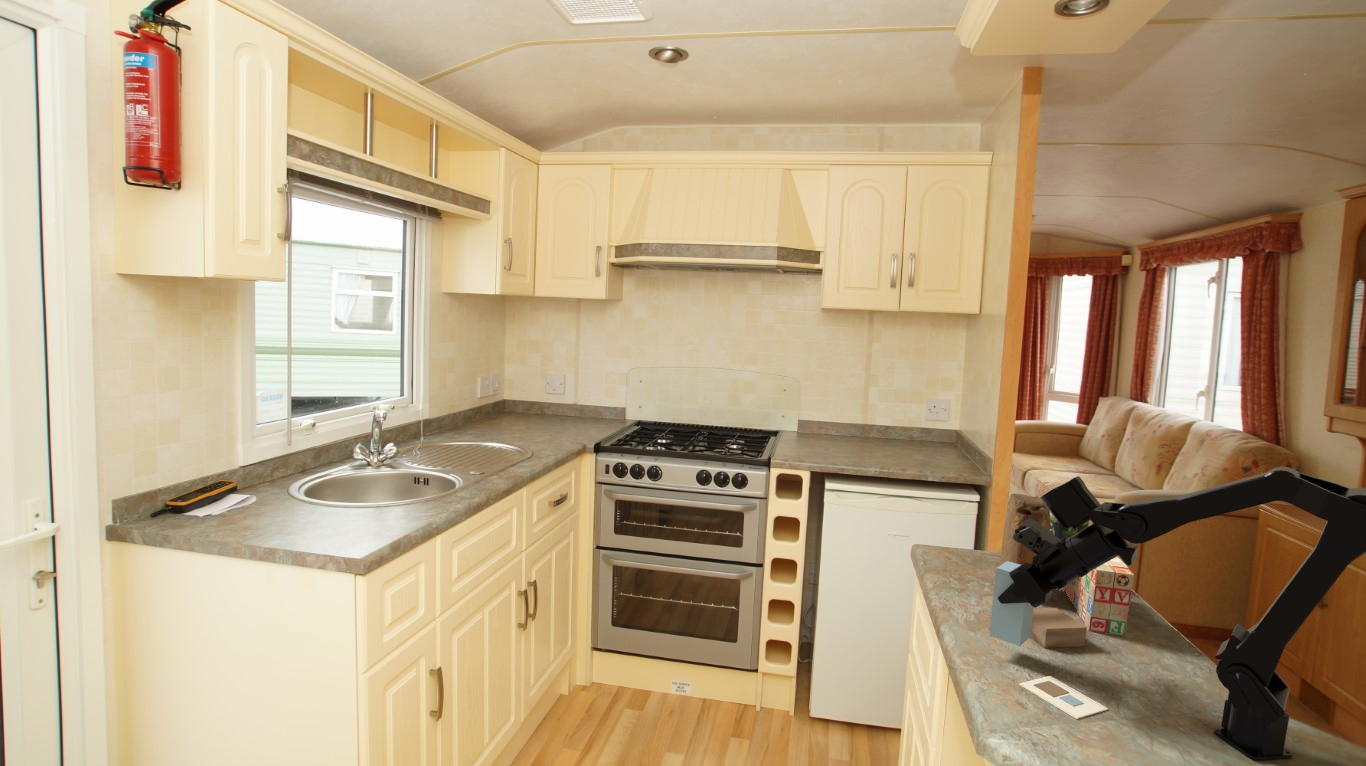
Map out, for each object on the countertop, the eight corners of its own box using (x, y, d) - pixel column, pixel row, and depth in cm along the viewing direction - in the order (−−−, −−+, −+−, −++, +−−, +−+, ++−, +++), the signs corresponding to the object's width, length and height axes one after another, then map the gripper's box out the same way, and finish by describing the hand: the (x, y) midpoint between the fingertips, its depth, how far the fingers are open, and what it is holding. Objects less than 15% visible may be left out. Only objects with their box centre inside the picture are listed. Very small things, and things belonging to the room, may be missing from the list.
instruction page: (1108, 709, 109) (1108, 707, 109) (1076, 719, 106) (1076, 717, 106) (1049, 676, 118) (1049, 675, 118) (1019, 684, 115) (1019, 682, 115)
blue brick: (1030, 637, 125) (1037, 569, 123) (1019, 646, 121) (1027, 576, 120) (1000, 627, 128) (1007, 561, 127) (989, 635, 124) (996, 567, 123)
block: (996, 578, 160) (1006, 490, 158) (1033, 583, 158) (1043, 494, 156) (1006, 598, 150) (1016, 503, 147) (1045, 603, 148) (1057, 507, 145)
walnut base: (1084, 646, 130) (1087, 627, 129) (1044, 647, 128) (1046, 628, 128) (1054, 625, 138) (1056, 608, 137) (1016, 626, 136) (1018, 609, 136)
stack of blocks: (1061, 588, 157) (1068, 533, 155) (1093, 593, 155) (1100, 537, 154) (1088, 632, 136) (1096, 568, 135) (1126, 637, 135) (1134, 573, 133)
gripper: (1067, 499, 126) (995, 543, 135) (1029, 519, 112) (952, 567, 121) (1113, 555, 121) (1036, 598, 130) (1079, 584, 108) (996, 629, 117)
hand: (1005, 596), depth 125 cm, fingers closed on blue brick, 5 cm apart
